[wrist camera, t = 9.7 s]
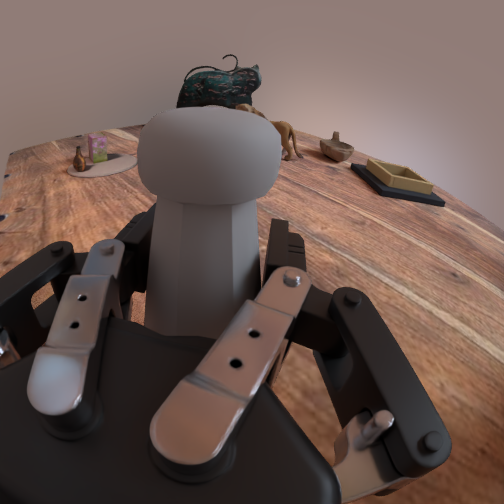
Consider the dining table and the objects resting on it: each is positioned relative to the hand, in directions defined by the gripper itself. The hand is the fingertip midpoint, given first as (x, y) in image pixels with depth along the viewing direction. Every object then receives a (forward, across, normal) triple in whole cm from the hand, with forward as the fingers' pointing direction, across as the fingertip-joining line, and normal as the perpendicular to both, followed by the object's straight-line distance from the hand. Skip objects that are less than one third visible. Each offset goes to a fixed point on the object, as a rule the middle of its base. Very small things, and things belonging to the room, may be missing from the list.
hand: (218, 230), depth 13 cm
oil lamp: (+53, -15, +8) cm, 55 cm away
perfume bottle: (+30, +25, +8) cm, 39 cm away
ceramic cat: (+63, +14, +8) cm, 65 cm away
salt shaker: (-3, 0, +8) cm, 8 cm away
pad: (+40, -25, +8) cm, 48 cm away
